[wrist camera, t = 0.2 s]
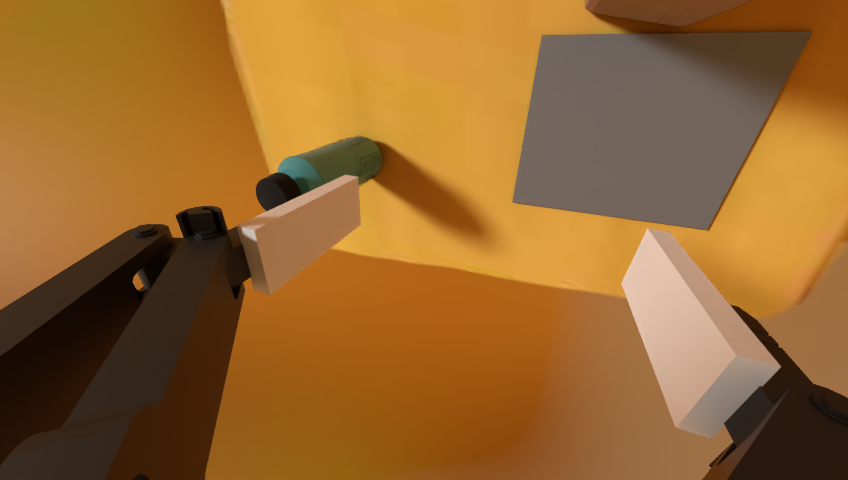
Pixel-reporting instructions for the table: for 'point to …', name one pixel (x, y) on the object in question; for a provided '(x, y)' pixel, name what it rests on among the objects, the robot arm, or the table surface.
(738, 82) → the mat
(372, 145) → the beverage bottle
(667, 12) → the wooden block
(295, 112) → the table surface
